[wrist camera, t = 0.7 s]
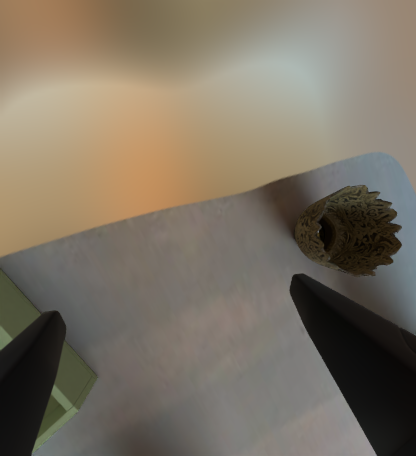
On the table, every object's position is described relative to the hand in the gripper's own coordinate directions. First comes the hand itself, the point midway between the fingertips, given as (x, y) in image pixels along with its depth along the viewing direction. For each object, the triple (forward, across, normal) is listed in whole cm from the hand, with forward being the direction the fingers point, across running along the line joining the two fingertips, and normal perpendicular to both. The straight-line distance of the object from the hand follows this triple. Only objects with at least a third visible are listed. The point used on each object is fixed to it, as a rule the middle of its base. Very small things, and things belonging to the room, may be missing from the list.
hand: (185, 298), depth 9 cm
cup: (+14, -15, +7) cm, 21 cm away
